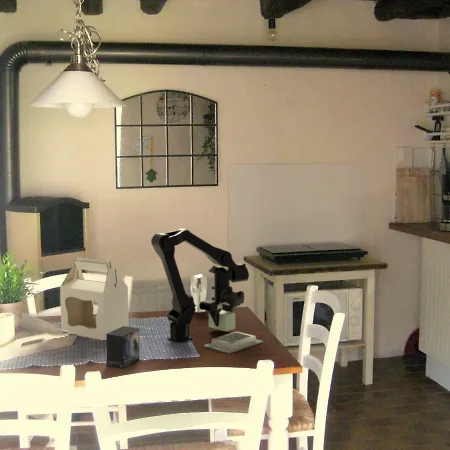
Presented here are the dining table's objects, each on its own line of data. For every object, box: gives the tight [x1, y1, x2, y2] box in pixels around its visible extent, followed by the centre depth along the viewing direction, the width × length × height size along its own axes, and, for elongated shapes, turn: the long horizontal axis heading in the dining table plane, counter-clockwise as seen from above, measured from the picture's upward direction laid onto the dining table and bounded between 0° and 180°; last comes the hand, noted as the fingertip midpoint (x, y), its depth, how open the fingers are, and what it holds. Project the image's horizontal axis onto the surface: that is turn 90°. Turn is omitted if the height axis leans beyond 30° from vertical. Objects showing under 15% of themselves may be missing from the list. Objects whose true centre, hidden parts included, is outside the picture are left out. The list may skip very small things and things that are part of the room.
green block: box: [208, 309, 236, 332], centre depth 233 cm, size 5×9×6 cm, turn 47°
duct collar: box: [202, 330, 264, 355], centre depth 217 cm, size 18×12×2 cm, turn 137°
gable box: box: [59, 256, 130, 341], centre depth 232 cm, size 22×13×28 cm, turn 59°
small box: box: [105, 326, 140, 369], centre depth 197 cm, size 11×6×10 cm, turn 158°
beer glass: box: [190, 274, 208, 313], centre depth 266 cm, size 7×7×15 cm
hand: (221, 325), depth 233 cm, fingers closed on green block, 5 cm apart
